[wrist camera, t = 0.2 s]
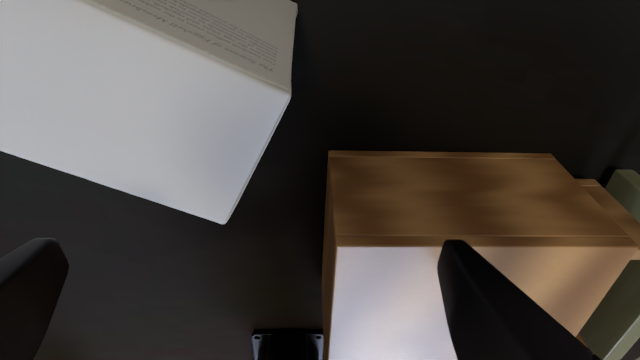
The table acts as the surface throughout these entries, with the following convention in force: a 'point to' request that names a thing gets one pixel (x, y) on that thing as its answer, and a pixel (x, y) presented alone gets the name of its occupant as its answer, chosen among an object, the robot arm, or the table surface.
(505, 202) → the cabinet
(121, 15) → the cosmetics box
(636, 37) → the table surface
